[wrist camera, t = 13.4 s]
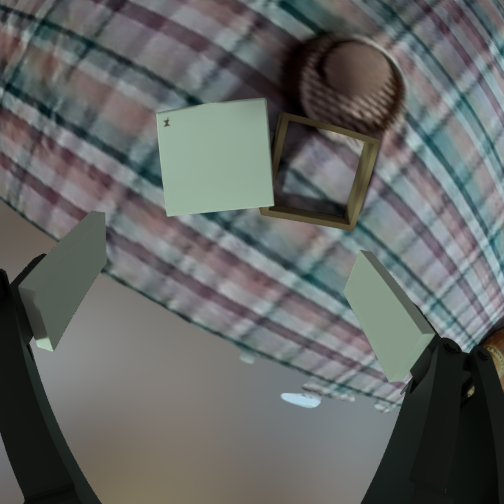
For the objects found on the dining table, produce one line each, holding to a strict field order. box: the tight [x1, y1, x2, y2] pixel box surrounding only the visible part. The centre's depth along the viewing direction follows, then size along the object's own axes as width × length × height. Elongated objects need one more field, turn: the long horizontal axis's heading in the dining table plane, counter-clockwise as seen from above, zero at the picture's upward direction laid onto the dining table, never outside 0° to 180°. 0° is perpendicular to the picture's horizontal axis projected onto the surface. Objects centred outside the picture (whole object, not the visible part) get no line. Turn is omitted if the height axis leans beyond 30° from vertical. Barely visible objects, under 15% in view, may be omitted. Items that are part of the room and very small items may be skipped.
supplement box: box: [157, 98, 274, 216], centre depth 29 cm, size 9×9×15 cm
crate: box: [259, 112, 380, 231], centre depth 38 cm, size 14×14×3 cm
